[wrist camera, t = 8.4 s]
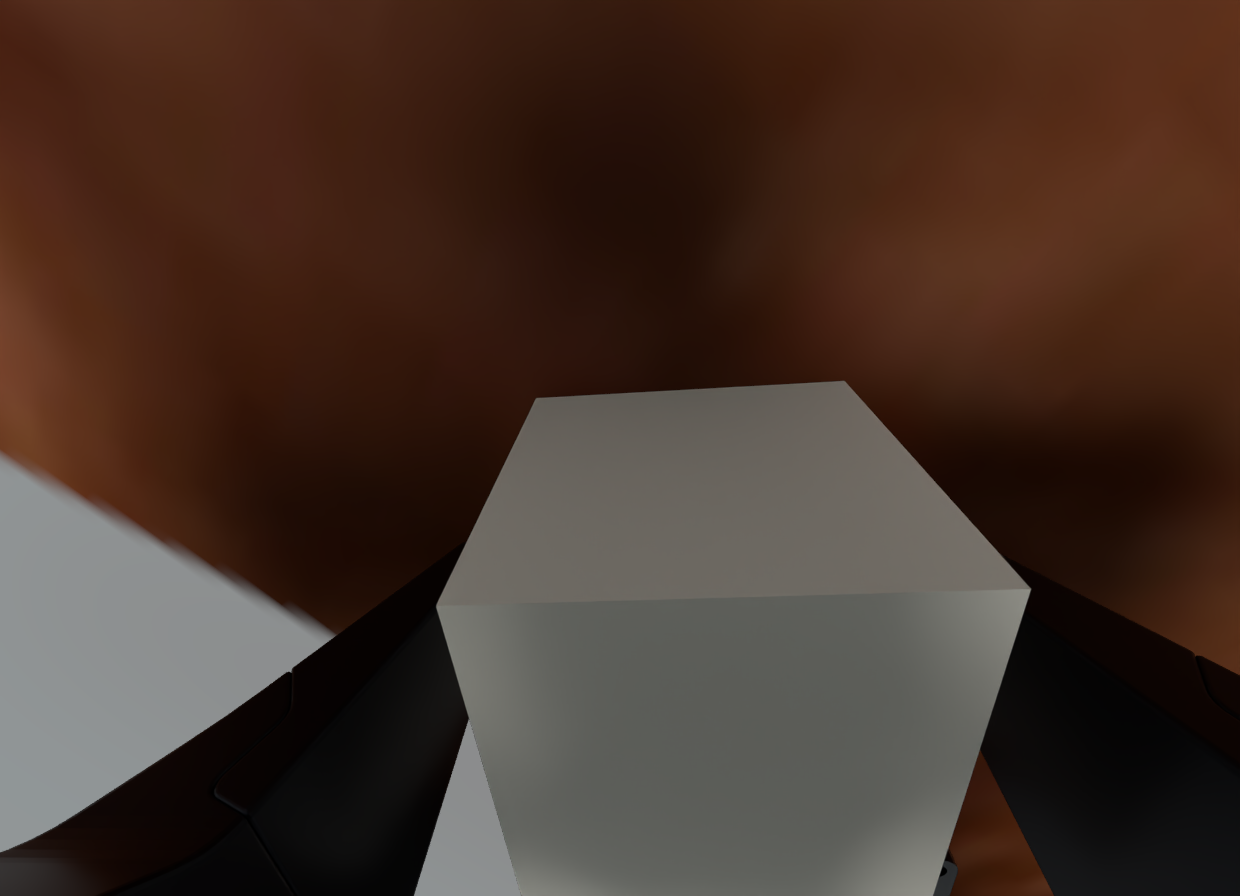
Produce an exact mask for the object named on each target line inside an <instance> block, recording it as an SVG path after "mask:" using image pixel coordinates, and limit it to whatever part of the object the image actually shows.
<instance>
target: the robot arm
mask: <svg viewBox="0 0 1240 896" xmlns="http://www.w3.org/2000/svg"><path fill="white" fill-rule="evenodd" d="M466 543H467V542H464V543H462V544H460V545H459V546H457V547H456V548H455V549H453V550H452V551H451V552H449V553H448V554H447V555H445V556H444V557H443V558H441V559H440V560H438V561H437V562H436V563H434V564H433V565H432V566H430V567H429V568H428V569H426V570H425V571H424V572H422V573H421V574H420V575H418V576H417V577H415V578H414V579H413V580H411V581H410V582H409V583H407V584H406V585H405V586H403V587H402V588H401V589H399V590H398V591H396V592H395V593H394V594H392V595H391V596H390V597H388V598H387V599H386V600H384V601H383V602H382V603H380V604H379V605H377V606H376V607H375V608H373V609H372V610H371V611H369V612H368V613H367V614H365V615H364V616H363V617H361V618H360V619H358V620H357V621H356V622H354V623H353V624H352V625H350V626H349V627H348V628H346V629H345V630H344V631H342V632H341V633H339V634H338V635H337V636H335V637H334V638H333V639H331V640H330V641H329V642H327V643H326V644H325V645H323V646H322V647H320V648H319V649H318V650H316V651H315V652H314V653H312V654H311V655H310V656H308V657H307V658H306V659H304V660H303V661H301V662H300V663H299V664H297V665H296V666H295V667H293V668H292V671H291V672H286V673H285V674H284V675H282V676H281V677H280V678H278V679H277V680H276V681H274V682H273V683H271V684H270V685H269V686H267V687H266V688H265V689H263V690H262V691H260V692H259V693H258V694H256V695H255V696H254V697H252V698H251V699H249V700H248V701H246V702H245V703H244V704H242V705H241V706H239V707H238V708H237V709H235V710H234V711H232V712H231V713H230V714H228V715H227V716H225V717H224V718H222V719H221V720H219V721H218V722H216V723H215V724H213V725H212V726H210V727H209V728H207V729H206V730H204V731H203V732H201V733H200V734H198V735H197V736H195V737H194V738H192V739H191V740H189V741H188V742H187V743H185V744H183V745H182V746H180V747H179V748H177V749H176V750H174V751H172V752H171V753H170V754H168V755H166V756H165V757H163V758H162V759H160V760H159V761H157V762H156V763H154V764H153V765H151V766H149V767H148V768H146V769H145V770H143V771H142V772H140V773H139V774H137V775H136V776H134V777H133V778H131V779H129V780H128V781H126V782H125V783H123V784H122V785H120V786H119V787H117V788H116V789H114V790H113V791H111V792H109V793H108V794H106V795H105V796H103V797H102V798H100V799H99V800H97V801H96V802H94V803H92V804H91V805H89V806H88V807H86V808H85V809H83V810H82V811H80V812H79V813H77V814H75V815H74V816H72V817H71V818H69V819H67V820H66V821H64V822H62V823H61V824H59V825H58V826H56V827H54V828H52V829H50V830H49V831H47V832H45V833H43V834H41V835H39V836H37V837H35V838H33V839H31V840H29V841H27V842H24V843H22V844H20V845H17V846H15V847H13V848H11V849H9V850H6V851H3V852H0V896H414V894H415V890H416V887H417V884H418V880H419V877H420V874H421V871H422V868H423V864H424V861H425V858H426V855H427V852H428V848H429V845H430V842H431V839H432V836H433V832H434V829H435V826H436V822H437V819H438V816H439V813H440V810H441V807H442V803H443V800H444V797H445V793H446V790H447V787H448V784H449V781H450V778H451V774H452V771H453V768H454V765H455V761H456V758H457V755H458V752H459V749H460V745H461V742H462V739H463V736H464V732H465V729H466V726H467V723H468V720H469V716H468V713H467V710H466V706H465V703H464V699H463V696H462V693H461V689H460V686H459V682H458V679H457V676H456V672H455V669H454V665H453V662H452V659H451V655H450V652H449V648H448V645H447V642H446V638H445V635H444V631H443V628H442V625H441V621H440V618H439V614H438V611H437V608H436V605H437V603H438V601H439V599H440V597H441V594H442V592H443V590H444V588H445V586H446V584H447V582H448V580H449V578H450V576H451V574H452V572H453V570H454V567H455V565H456V563H457V561H458V559H459V557H460V555H461V553H462V551H463V549H464V547H465V545H466ZM1000 555H1001V554H1000ZM1001 556H1002V557H1003V558H1004V559H1005V560H1006V562H1007V563H1008V564H1009V565H1010V566H1011V567H1012V568H1013V569H1014V570H1015V572H1016V573H1017V574H1018V575H1019V576H1020V577H1021V578H1022V579H1023V581H1024V582H1025V583H1026V584H1027V585H1028V586H1029V587H1030V588H1031V591H1030V594H1029V597H1028V600H1027V603H1026V607H1025V610H1024V613H1023V616H1022V619H1021V622H1020V625H1019V628H1018V632H1017V635H1016V638H1015V641H1014V644H1013V647H1012V650H1011V653H1010V657H1009V660H1008V663H1007V666H1006V669H1005V672H1004V675H1003V678H1002V682H1001V685H1000V688H999V691H998V694H997V697H996V700H995V703H994V707H993V710H992V713H991V716H990V719H989V722H988V725H987V728H986V732H985V735H984V738H983V741H982V744H981V747H980V750H981V752H982V754H983V756H984V758H985V760H986V762H987V764H988V766H989V768H990V770H991V772H992V774H993V776H994V778H995V780H996V782H997V784H998V786H999V788H1000V790H1001V791H1002V793H1003V795H1004V797H1005V799H1006V801H1007V803H1008V805H1009V807H1010V809H1011V811H1012V813H1013V815H1014V817H1015V819H1016V821H1017V823H1018V825H1019V827H1020V829H1021V831H1022V833H1023V835H1024V837H1025V839H1026V841H1027V843H1028V845H1029V847H1030V849H1031V851H1032V853H1033V855H1034V857H1035V859H1036V861H1037V863H1038V865H1039V866H1040V868H1041V870H1042V872H1043V874H1044V876H1045V878H1046V880H1047V882H1048V884H1049V886H1050V888H1051V890H1052V892H1053V894H1054V896H1240V675H1238V674H1236V673H1234V672H1232V671H1230V670H1228V669H1226V668H1224V667H1222V666H1220V665H1218V664H1216V663H1214V662H1212V661H1210V660H1208V659H1207V658H1205V657H1203V656H1196V657H1195V655H1194V653H1193V652H1192V651H1190V650H1188V649H1187V648H1185V647H1183V646H1181V645H1179V644H1177V643H1175V642H1173V641H1171V640H1169V639H1167V638H1165V637H1163V636H1161V635H1159V634H1157V633H1155V632H1153V631H1151V630H1149V629H1147V628H1145V627H1143V626H1141V625H1139V624H1137V623H1135V622H1133V621H1131V620H1129V619H1127V618H1125V617H1123V616H1121V615H1119V614H1117V613H1115V612H1114V611H1112V610H1110V609H1108V608H1106V607H1104V606H1102V605H1100V604H1098V603H1096V602H1094V601H1092V600H1090V599H1088V598H1086V597H1084V596H1082V595H1080V594H1078V593H1076V592H1074V591H1072V590H1070V589H1068V588H1066V587H1064V586H1062V585H1060V584H1058V583H1056V582H1054V581H1052V580H1050V579H1048V578H1046V577H1044V576H1043V575H1041V574H1039V573H1037V572H1035V571H1033V570H1031V569H1029V568H1027V567H1025V566H1023V565H1021V564H1019V563H1017V562H1015V561H1013V560H1011V559H1009V558H1007V557H1005V556H1003V555H1001ZM957 872H958V868H957V865H956V863H955V861H954V859H953V856H952V854H951V852H950V850H949V848H948V850H947V853H946V856H945V860H944V863H943V866H942V869H941V872H940V875H939V878H938V881H937V884H936V888H935V891H934V894H933V896H950V893H951V890H952V887H953V884H954V881H955V878H956V875H957Z"/></svg>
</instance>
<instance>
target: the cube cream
mask: <svg viewBox="0 0 1240 896" xmlns="http://www.w3.org/2000/svg"><path fill="white" fill-rule="evenodd" d="M1030 591H1031V588H1030V587H1029V586H1028V585H1027V584H1026V583H1025V582H1024V581H1023V579H1022V578H1021V577H1020V576H1019V575H1018V574H1017V573H1016V572H1015V570H1014V569H1013V568H1012V567H1011V566H1010V565H1009V564H1008V563H1007V562H1006V560H1005V559H1004V558H1003V557H1002V556H1001V555H1000V554H999V553H998V552H997V550H996V549H995V548H994V547H993V546H992V545H991V544H990V543H989V541H988V540H987V539H986V538H985V537H984V536H983V535H982V534H981V533H980V531H979V530H978V529H977V528H976V527H975V526H974V525H973V524H972V523H971V521H970V520H969V519H968V518H967V517H966V516H965V515H964V514H963V512H962V511H961V510H960V509H959V508H958V507H957V506H956V505H955V504H954V502H953V501H952V500H951V499H950V498H949V497H948V496H947V495H946V494H945V492H944V491H943V490H942V489H941V488H940V487H939V486H938V485H937V484H936V482H935V481H934V480H933V479H932V478H931V477H930V476H929V475H928V473H927V472H926V471H925V470H924V469H923V468H922V467H921V466H920V465H919V463H918V462H917V461H916V460H915V459H914V458H913V457H912V456H911V455H910V453H909V452H908V451H907V450H906V449H905V448H904V447H903V446H902V444H901V443H900V442H899V441H898V440H897V439H896V438H895V437H894V436H893V434H892V433H891V432H890V431H889V430H888V429H887V428H886V427H885V426H884V424H883V423H882V422H881V421H880V420H879V419H878V418H877V417H876V415H875V414H874V413H873V412H872V411H871V410H870V409H869V408H868V407H867V405H866V404H865V403H864V402H863V401H862V400H861V399H860V398H859V397H858V395H857V394H856V393H855V392H854V391H853V390H852V389H851V388H850V386H849V385H848V384H847V383H846V382H845V381H835V382H817V383H799V384H781V385H763V386H745V387H727V388H709V389H691V390H673V391H655V392H637V393H620V394H602V395H584V396H566V397H548V398H536V399H535V401H534V404H533V406H532V408H531V410H530V412H529V414H528V416H527V418H526V420H525V422H524V424H523V426H522V428H521V431H520V433H519V435H518V437H517V439H516V441H515V443H514V445H513V447H512V449H511V451H510V453H509V455H508V457H507V460H506V462H505V464H504V466H503V468H502V470H501V472H500V474H499V476H498V478H497V480H496V482H495V484H494V487H493V489H492V491H491V493H490V495H489V497H488V499H487V501H486V503H485V505H484V507H483V509H482V511H481V514H480V516H479V518H478V520H477V522H476V524H475V526H474V528H473V530H472V532H471V534H470V536H469V538H468V540H467V543H466V545H465V547H464V549H463V551H462V553H461V555H460V557H459V559H458V561H457V563H456V565H455V567H454V570H453V572H452V574H451V576H450V578H449V580H448V582H447V584H446V586H445V588H444V590H443V592H442V594H441V597H440V599H439V601H438V603H437V605H436V608H437V611H438V614H439V618H440V621H441V625H442V628H443V631H444V635H445V638H446V642H447V645H448V648H449V652H450V655H451V659H452V662H453V665H454V669H455V672H456V676H457V679H458V682H459V686H460V689H461V693H462V696H463V699H464V703H465V706H466V710H467V713H468V716H469V720H470V723H471V727H472V730H473V733H474V737H475V740H476V744H477V747H478V750H479V754H480V757H481V760H482V764H483V767H484V771H485V774H486V777H487V781H488V784H489V788H490V791H491V794H492V798H493V801H494V805H495V808H496V811H497V815H498V818H499V821H500V825H501V828H502V832H503V835H504V839H505V842H506V845H507V849H508V852H509V855H510V859H511V862H512V866H513V869H514V872H515V876H516V879H517V882H518V886H519V890H520V893H521V896H933V894H934V891H935V888H936V884H937V881H938V878H939V875H940V872H941V869H942V866H943V863H944V860H945V856H946V853H947V850H948V847H949V844H950V841H951V838H952V835H953V831H954V828H955V825H956V822H957V819H958V816H959V813H960V810H961V806H962V803H963V800H964V797H965V794H966V791H967V788H968V785H969V781H970V778H971V775H972V772H973V769H974V766H975V763H976V760H977V756H978V753H979V750H980V747H981V744H982V741H983V738H984V735H985V732H986V728H987V725H988V722H989V719H990V716H991V713H992V710H993V707H994V703H995V700H996V697H997V694H998V691H999V688H1000V685H1001V682H1002V678H1003V675H1004V672H1005V669H1006V666H1007V663H1008V660H1009V657H1010V653H1011V650H1012V647H1013V644H1014V641H1015V638H1016V635H1017V632H1018V628H1019V625H1020V622H1021V619H1022V616H1023V613H1024V610H1025V607H1026V603H1027V600H1028V597H1029V594H1030Z"/></svg>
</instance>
